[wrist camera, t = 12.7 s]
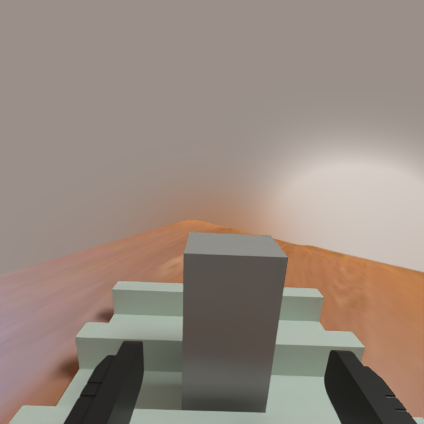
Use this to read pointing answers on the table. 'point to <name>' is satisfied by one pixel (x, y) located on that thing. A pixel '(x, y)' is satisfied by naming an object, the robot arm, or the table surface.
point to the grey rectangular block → (230, 320)
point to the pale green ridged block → (172, 360)
